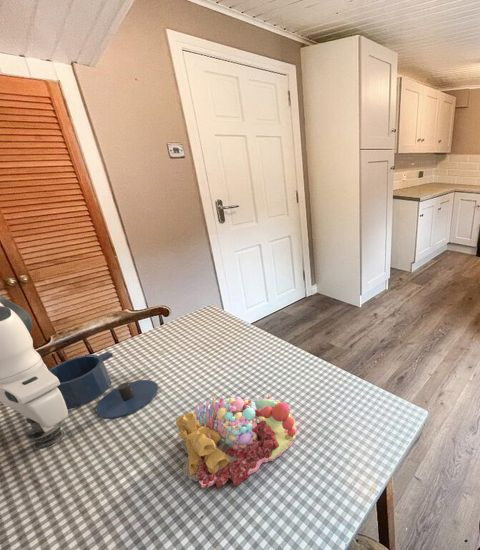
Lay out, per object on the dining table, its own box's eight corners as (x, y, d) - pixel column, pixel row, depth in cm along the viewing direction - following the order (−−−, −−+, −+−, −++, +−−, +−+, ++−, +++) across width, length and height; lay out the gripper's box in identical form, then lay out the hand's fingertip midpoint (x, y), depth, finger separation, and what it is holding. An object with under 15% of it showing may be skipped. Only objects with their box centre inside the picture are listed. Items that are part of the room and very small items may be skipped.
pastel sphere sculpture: (208, 516, 57) (198, 483, 53) (164, 443, 71) (154, 413, 67) (312, 430, 74) (309, 401, 71) (260, 385, 88) (255, 359, 85)
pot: (29, 410, 80) (15, 385, 77) (104, 368, 96) (95, 346, 93) (56, 424, 76) (43, 398, 73) (131, 378, 92) (122, 355, 88)
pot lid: (85, 411, 80) (78, 396, 78) (138, 378, 92) (132, 364, 90) (119, 427, 75) (112, 411, 73) (169, 390, 87) (165, 375, 85)
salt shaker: (64, 425, 75) (45, 387, 71) (69, 438, 72) (49, 399, 68) (30, 441, 71) (8, 402, 67) (33, 455, 68) (10, 415, 63)
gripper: (-29, 374, 66) (0, 422, 71) (22, 401, 59) (50, 451, 64) (11, 357, 71) (35, 403, 76) (63, 380, 64) (85, 428, 69)
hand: (42, 425), depth 70 cm, fingers closed on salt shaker, 3 cm apart
